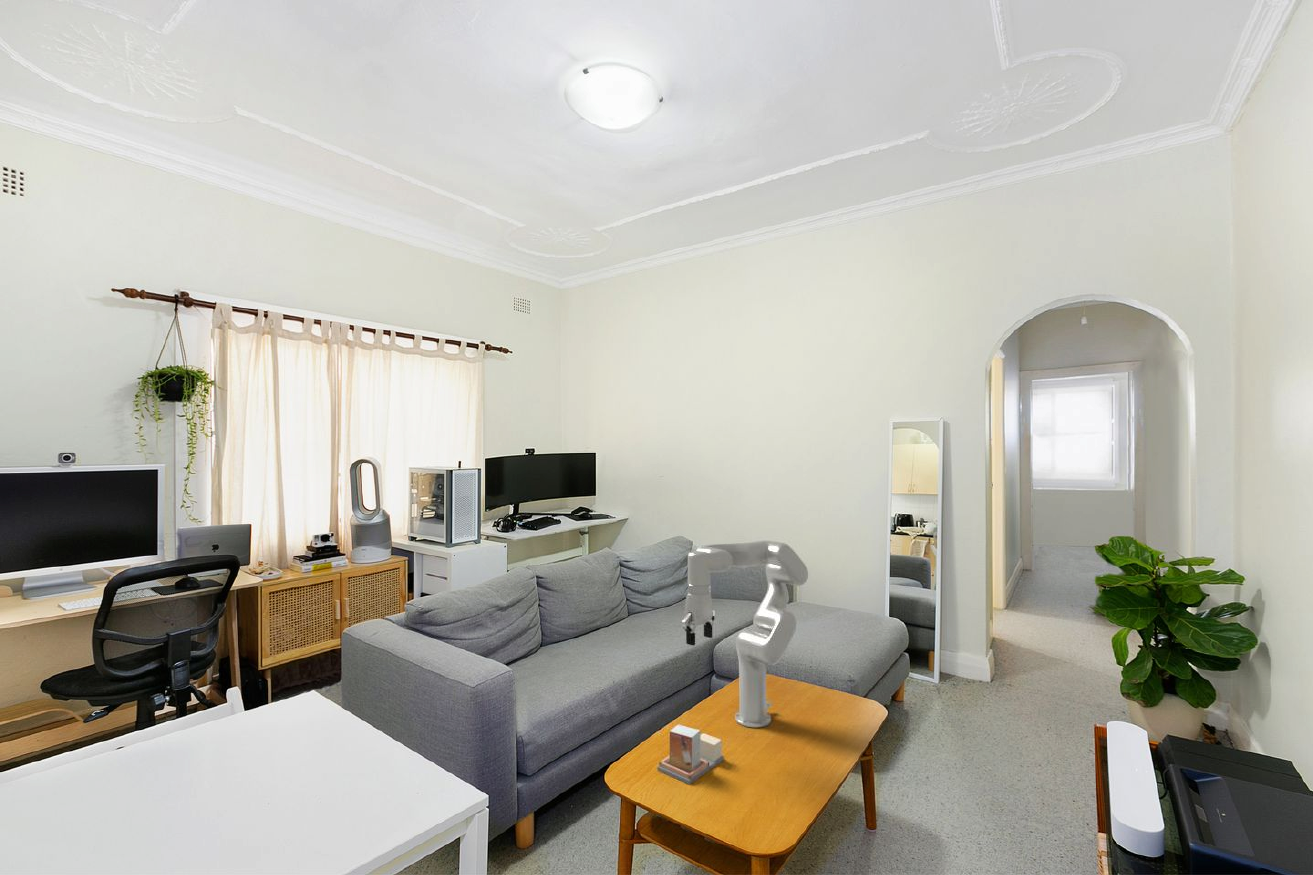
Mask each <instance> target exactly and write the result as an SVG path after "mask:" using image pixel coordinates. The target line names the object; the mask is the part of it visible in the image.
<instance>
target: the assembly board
mask: <svg viewBox="0 0 1313 875" xmlns="http://www.w3.org/2000/svg"><path fill="white" fill-rule="evenodd" d="M722 742H723V741H722V739H720V738H718V737H716V736H715V737H714V736H711V735H709V734H707V733H701V740H700V765H699V766H698V767H697V768H696V769H695V770H694V771H692V772H688V771H685V770H682V769H680V768H677V767H674V766H671V765H669V755H668V756H666V757H665V758H664V759H662V760H660V761H659V762H658V765H657V771H658V772H661V773H663V774H665V775H667V776H670V777H671V778H673V779H676V780H679V781H680V782H682V783H685V784H686V785H691V784H692V783H693V782H695V781H696V780H698V779H699V778H700V777H702V776H703V775H704V774H707V772H708V771H710V770H712V769H713V768H714V767H715V766H717V765H718V764H719V763H721V762H722V761H723V760H725V756H724V755H723V753H722V752H723V751H722V750H723V749H722V746H723V745H722Z"/></svg>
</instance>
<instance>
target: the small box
mask: <svg viewBox="0 0 1313 875" xmlns="http://www.w3.org/2000/svg"><path fill="white" fill-rule="evenodd" d="M701 734H702V733H701V729H696V728H692V727H689V726H686V725H681V724H677V725H675V726H674V727H673V728H672V729H670V731H669V750H668V751H669V755H668V756H669V765H671V766H674V767H677V768H680V769H682V770H685V771H688V772H692V771H694V770H695V769H696V768H697V767H698V766H699V765H700V740H701Z"/></svg>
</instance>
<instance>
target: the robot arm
mask: <svg viewBox="0 0 1313 875" xmlns="http://www.w3.org/2000/svg"><path fill="white" fill-rule="evenodd" d="M757 566H758V567H759V566H765V575H766V580H767V591H766V593H765V596H764V597H763V599H762V601H761V603H760V605H759V606H758V608H757V610H756V612H755V613H754V615H753V619H752V620H753V621H752V622H753V626H755V628H756V629H758V630H759V631H757V630H755V629H749V628H747V629H743V630H741V631H739V633H738V634H737V636H736V638H735V640H736V641H735V648H736V653H737V658H738V683H739V684H738V689H739V693H738V697H739V698H738V699H739V705H738V706H739V707H738V708H739V710H738V711H736V713H735V714H734V717H735V718H734V719H735V721H736V723H738V724H739V725H741V726H744V727H748V728H764V727H767V726H768V725H770V723H771V721H772V719H771V717H772V716H771V715H770V714H769V713H768V712H767V710H768V709H770V707H771V706H772V703H771V702H770V701H768V700H767V669H766V665H769V666H774V665H776V664H778V663H779V662H780V661H781V659H782V658H783V656H784V655H785V653H786V651H787V648H788V647H789V645H790V643H791V641H792V639H793V637H794V635H795V632H796V629H797V618H796V616H795V615H794V613H793V612H792V611H790V610H787V609H786V608H787V606H788V604H789V600H790V595H789V592H788V587H787V585H790V586H795V587H799V586H803V585H805V583H807V581H808V578H809V571H808V568H807V565H806V564H805V562H804V561H803V560H802V559H801V557H800V556H799V555H798V554H797V553H796V551H795V550H794V549H793V548H792V547H791V546H789V545H788V544H787V543H785V542H778V541H773V540H760V541H753V542H752V541H751V542H744V543H737V542H736V543H717V544H708V545H707V544H706V545H702V546H699V547H697V549H696V550H692V551H690V552H688V554H687V594H686V597H685V603H684V618H683V619H682V620H681V624H682V626H683V627H682V628H683V630H684V632H685V633H686V634H685V638H686V640H685V641H686V642H685V643H686V644H687V645H689V646H693V647H694V646H696V633H695V630H696V628H697V627H698V626H701V625H703V636H704V637H705V638H709V639H712V638H713V626H714V621H715V615H716V612H717V611H716V609H714V608H713V600H712V594H711V573H725V572H727V571H729V570H730V569H731V567H734V568H752V567H757ZM764 632H765V633H764ZM767 633H768V634H767Z"/></svg>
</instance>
